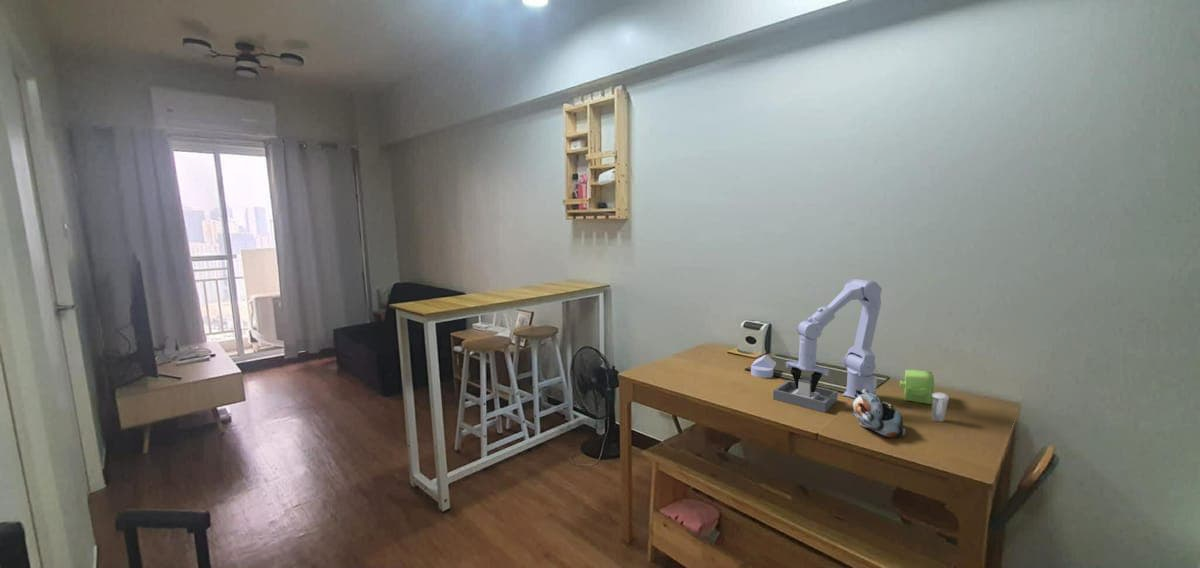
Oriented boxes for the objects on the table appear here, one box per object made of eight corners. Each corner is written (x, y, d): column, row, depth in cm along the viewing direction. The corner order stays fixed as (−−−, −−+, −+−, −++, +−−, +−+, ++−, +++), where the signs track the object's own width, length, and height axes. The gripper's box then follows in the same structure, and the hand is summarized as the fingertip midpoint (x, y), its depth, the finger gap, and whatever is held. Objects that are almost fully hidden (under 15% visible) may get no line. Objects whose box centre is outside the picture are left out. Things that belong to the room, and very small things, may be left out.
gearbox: (899, 388, 181) (899, 364, 180) (929, 391, 175) (930, 367, 174) (900, 403, 165) (900, 377, 164) (933, 407, 160) (934, 381, 159)
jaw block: (812, 396, 169) (814, 378, 168) (809, 400, 166) (810, 381, 165) (801, 394, 172) (802, 376, 171) (797, 397, 169) (798, 379, 168)
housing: (837, 400, 168) (837, 391, 167) (824, 412, 158) (825, 403, 157) (787, 388, 180) (788, 380, 179) (773, 399, 170) (773, 390, 169)
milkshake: (927, 414, 155) (929, 386, 154) (946, 419, 152) (949, 390, 150) (925, 419, 152) (928, 390, 150) (946, 423, 148) (949, 394, 147)
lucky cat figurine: (907, 443, 136) (889, 405, 134) (864, 447, 143) (845, 411, 141) (904, 411, 148) (887, 376, 145) (863, 416, 155) (847, 383, 153)
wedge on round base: (755, 367, 206) (748, 376, 195) (755, 352, 205) (749, 360, 194) (776, 370, 201) (771, 379, 190) (776, 355, 200) (771, 364, 189)
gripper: (783, 352, 168) (781, 387, 170) (825, 360, 158) (822, 398, 160) (790, 348, 173) (788, 382, 175) (831, 356, 163) (829, 392, 165)
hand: (805, 389), depth 168 cm, fingers open, 5 cm apart
